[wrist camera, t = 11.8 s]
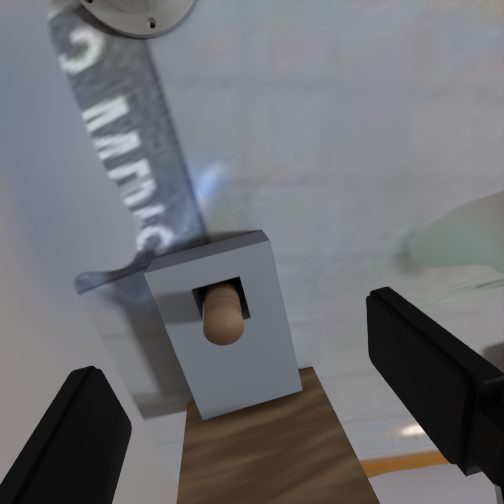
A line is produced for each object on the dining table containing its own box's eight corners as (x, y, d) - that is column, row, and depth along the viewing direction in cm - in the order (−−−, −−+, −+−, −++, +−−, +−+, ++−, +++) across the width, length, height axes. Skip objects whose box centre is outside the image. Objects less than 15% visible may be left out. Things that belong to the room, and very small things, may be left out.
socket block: (153, 258, 33) (143, 273, 28) (261, 229, 34) (269, 240, 29) (204, 390, 40) (202, 420, 35) (292, 364, 41) (302, 390, 36)
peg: (202, 276, 34) (197, 316, 25) (232, 268, 35) (238, 305, 25) (210, 302, 36) (209, 350, 26) (239, 294, 36) (248, 339, 26)
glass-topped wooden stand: (164, 348, 37) (-41, 1099, 7) (301, 310, 38) (614, 822, 8) (190, 410, 41) (127, 1063, 11) (313, 373, 42) (557, 877, 12)
